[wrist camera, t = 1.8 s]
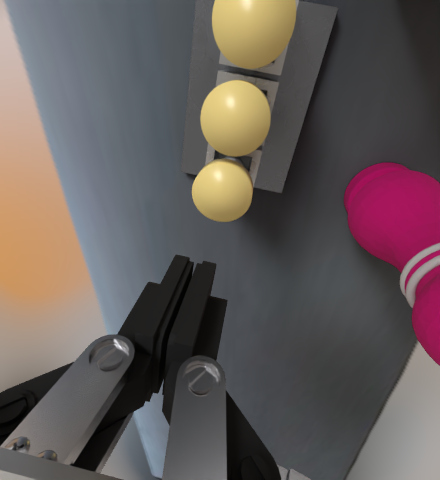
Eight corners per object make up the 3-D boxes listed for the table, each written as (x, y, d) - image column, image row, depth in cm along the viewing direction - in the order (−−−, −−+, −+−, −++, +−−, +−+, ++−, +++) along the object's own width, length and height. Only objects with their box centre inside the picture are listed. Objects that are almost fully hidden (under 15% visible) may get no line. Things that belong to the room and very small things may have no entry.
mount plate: (200, -15, 20) (182, -36, 16) (335, 9, 20) (352, -5, 16) (183, 168, 28) (168, 186, 24) (281, 189, 28) (283, 211, 23)
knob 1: (233, -15, 17) (218, -46, 12) (297, -3, 17) (308, -30, 12) (222, 62, 19) (206, 60, 14) (279, 73, 19) (282, 75, 14)
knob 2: (220, 72, 20) (205, 73, 15) (276, 83, 19) (279, 88, 15) (212, 131, 22) (196, 149, 17) (262, 141, 22) (260, 162, 17)
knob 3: (211, 139, 22) (195, 158, 17) (261, 149, 22) (258, 172, 17) (204, 186, 24) (189, 214, 19) (249, 195, 24) (245, 227, 19)
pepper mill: (412, 141, 24) (760, 322, 7) (428, 210, 27) (701, 457, 10) (327, 178, 26) (428, 371, 10) (350, 237, 29) (459, 467, 12)
